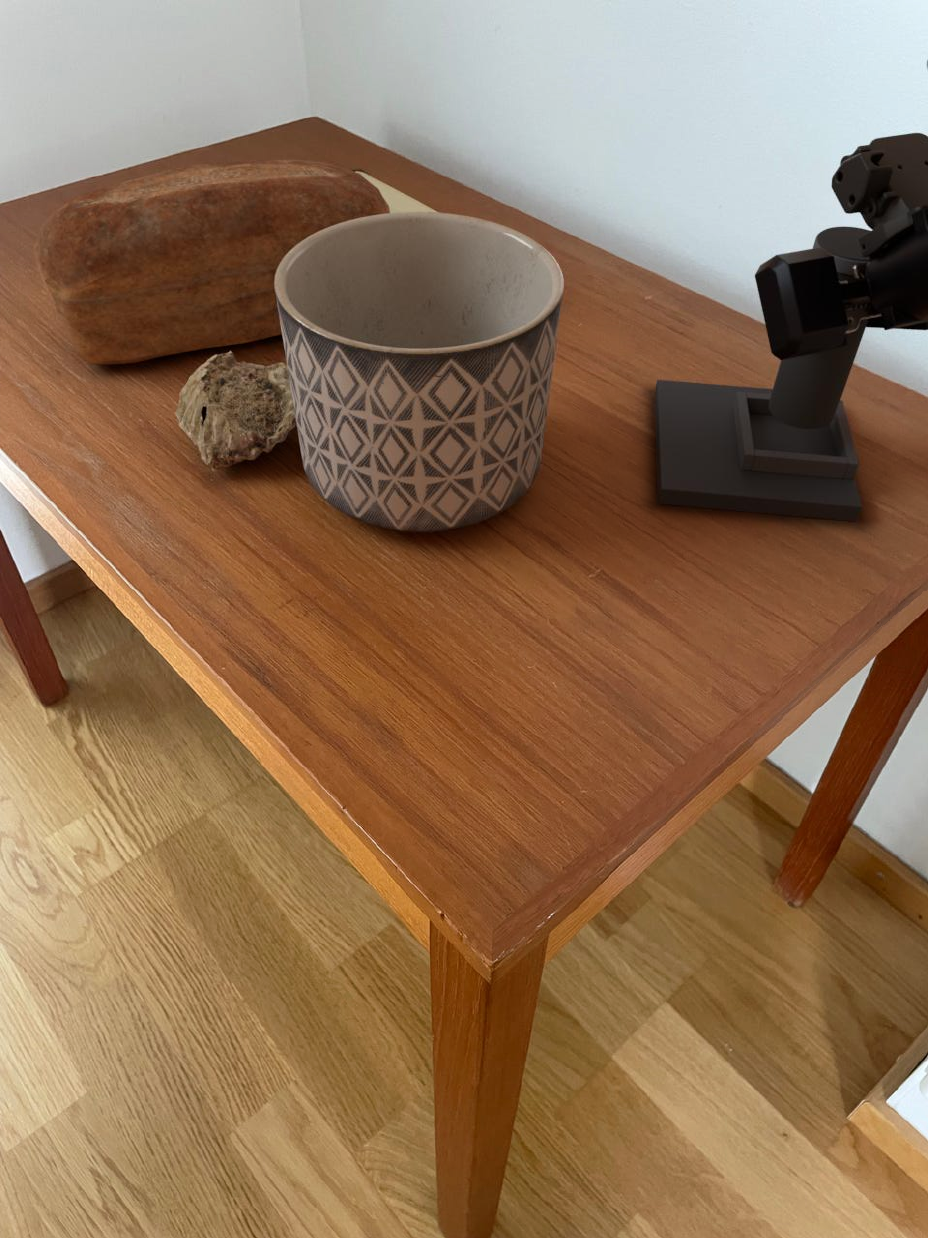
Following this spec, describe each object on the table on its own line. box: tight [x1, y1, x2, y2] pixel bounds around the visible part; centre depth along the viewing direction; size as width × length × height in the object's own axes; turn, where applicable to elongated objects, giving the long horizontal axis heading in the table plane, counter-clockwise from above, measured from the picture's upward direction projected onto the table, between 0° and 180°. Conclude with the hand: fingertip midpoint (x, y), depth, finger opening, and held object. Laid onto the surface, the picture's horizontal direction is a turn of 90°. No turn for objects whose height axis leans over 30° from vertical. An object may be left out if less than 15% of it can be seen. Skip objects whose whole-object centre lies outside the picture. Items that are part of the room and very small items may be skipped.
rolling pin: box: [347, 167, 438, 213], centre depth 99 cm, size 32×6×5 cm, turn 39°
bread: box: [33, 159, 390, 366], centre depth 86 cm, size 12×31×14 cm, turn 112°
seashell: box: [173, 350, 297, 473], centre depth 77 cm, size 11×7×10 cm
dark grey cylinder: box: [769, 226, 871, 429], centre depth 70 cm, size 5×5×14 cm
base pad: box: [654, 379, 863, 522], centre depth 78 cm, size 15×15×3 cm
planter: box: [274, 211, 565, 533], centre depth 70 cm, size 19×19×16 cm
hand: (815, 324), depth 71 cm, fingers closed on dark grey cylinder, 5 cm apart
